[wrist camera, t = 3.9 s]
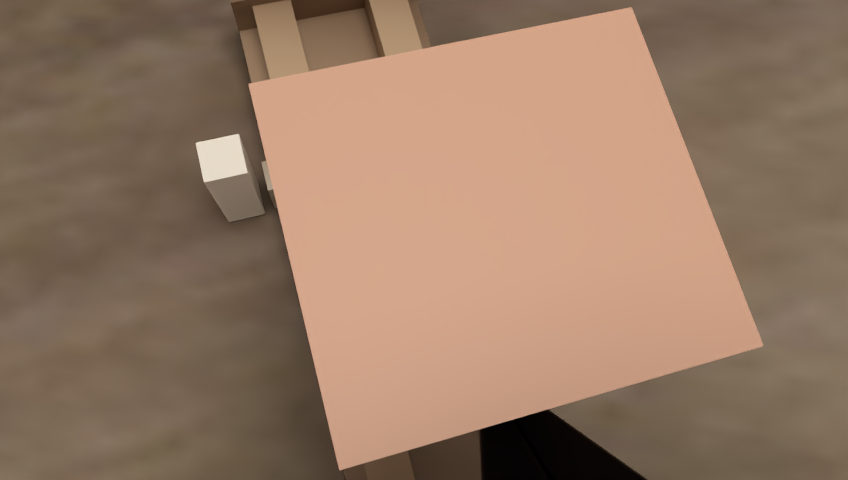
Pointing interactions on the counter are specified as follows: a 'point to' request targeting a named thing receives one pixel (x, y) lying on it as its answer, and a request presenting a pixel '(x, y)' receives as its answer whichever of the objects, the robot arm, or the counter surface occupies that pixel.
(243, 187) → the pair of white blocks
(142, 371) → the counter surface
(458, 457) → the wooden tray
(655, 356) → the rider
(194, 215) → the counter surface
